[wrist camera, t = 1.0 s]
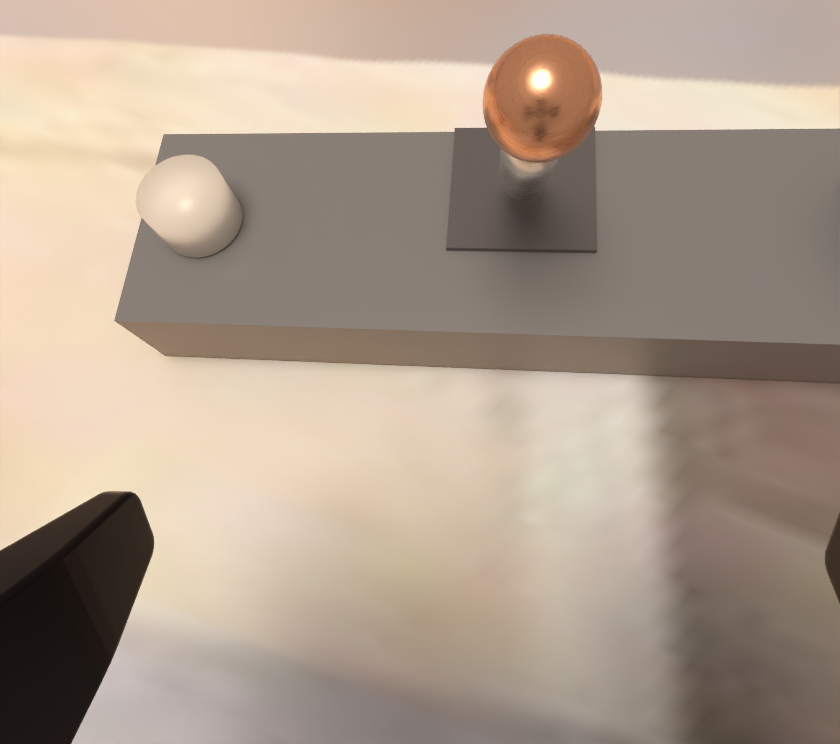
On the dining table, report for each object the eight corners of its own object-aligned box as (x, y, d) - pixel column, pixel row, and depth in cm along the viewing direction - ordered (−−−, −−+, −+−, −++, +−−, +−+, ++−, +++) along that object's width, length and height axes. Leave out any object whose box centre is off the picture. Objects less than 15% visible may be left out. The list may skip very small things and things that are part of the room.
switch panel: (918, 386, 21) (1007, 347, 17) (165, 355, 24) (111, 318, 20) (879, 191, 23) (949, 123, 20) (203, 189, 26) (161, 130, 23)
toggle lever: (558, 217, 20) (608, 145, 11) (485, 217, 20) (478, 146, 11) (562, 142, 19) (617, 8, 11) (488, 143, 20) (483, 12, 11)
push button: (234, 258, 21) (212, 230, 19) (155, 257, 21) (126, 229, 20) (248, 186, 22) (229, 154, 20) (173, 186, 22) (147, 154, 21)
